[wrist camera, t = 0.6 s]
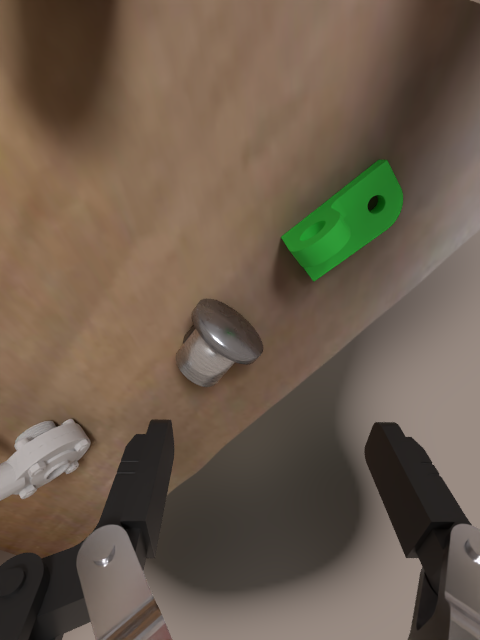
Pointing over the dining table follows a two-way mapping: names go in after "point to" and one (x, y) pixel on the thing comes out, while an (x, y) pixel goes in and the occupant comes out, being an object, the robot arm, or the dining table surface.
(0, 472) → the mechanical valve
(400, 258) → the dining table surface
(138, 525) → the robot arm
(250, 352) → the grey mushroom knob
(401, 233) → the dining table surface
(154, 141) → the dining table surface
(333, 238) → the mechanical part
